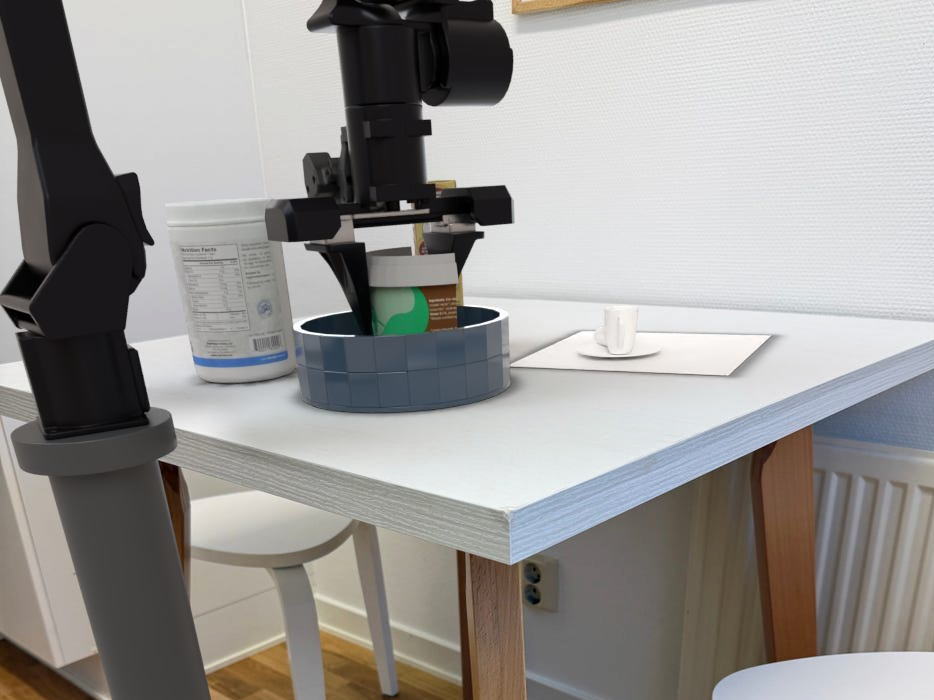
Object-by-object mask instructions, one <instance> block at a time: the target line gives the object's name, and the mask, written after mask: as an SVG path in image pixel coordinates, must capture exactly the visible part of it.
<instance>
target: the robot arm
mask: <svg viewBox="0 0 934 700" xmlns="http://www.w3.org/2000/svg"><path fill="white" fill-rule="evenodd" d="M494 17H495V16H494V2H493V1H492V0H470V1H467V0H322V1H321V3H320V4H319V6H318V7H317V9H316V10H315V11H314V13H313V14H312V15H311V16H310V17H309V18H308V19H307V20H306V25H305V27H306V29H307V30H308V32H309V33H313V34H334V35H336V44H337V52H338V53H337V54H338V63H339V70H340V81H341V91H342V99H343V100H342V101H343V108H344V117H345V118H344V119H345V125H344V126H340V138H339V139H340V153H339V156H338V157H337V156H336V157H331V155H330V153H329V152H327V151H322V152H321V151H319V152H306V153H305V155H304V156H303V158H302V161H301V162H302V170H303V180H304V187H305V191H306V195H307V196H304V197H290V198H275V199H274V198H273V199H272V200H270V202H269V203H268V205H267V207H266V209H265V223H266V230H267V236H268V240H269V241H279V242H282V243H302V242H303V246H304V249H305V251H308V252H316V253H318V254H319V255H320V256H321V258H322V259H323V260H324V261H325V263H326V264H327V265H328V267H329V268H330V270H331V272H332V273H333V275H334V277H335V278H336V280H337V282H338V284H339V286H340V288H341V290H342V292H343V293H344V296H345V299H346V301H347V303H348V305H349V308H350V311H352V312H353V314H354V317H355V319H356V321H357V323H358V326H359V328H360V330H361V332H362V334H363V335H372V310H371V299H370V289H369V279H368V268H367V258H366V252H367V249H366V242H364V241H356V237H355V229H365V228H366V229H367V228H379V227H392V226H393V227H394V226H404V225H412V224H418V223H430V229H431V232H425V233H422V237H423V240H424V243H425V246H426V249H427V252H428V255H435V254H449V253H455V263H456V265H457V273H458V279H459V276H460V274H461V271H462V272H463V269H464V267H465V265H466V263H467V260H468V258H469V257H470V256H469V255H470V254H471V251H472V249H473V247H474V244H475V243H476V241H477V240H483V239H485V231H483V230H477V224H478V226H480V227H491V226H501V225H502V226H503V225H513V224H515V200H514V198H513V196H512V194H511V192H510V191H509V189H508V187H507V186H506V184H498V185H496V184H495V185H475V186H459V187H456V188H443V189H442V191H441V194H440V197H436V185H435V183H431V184H428V181H429V178H428V177H429V176H428V164H427V163H428V162H427V150H426V137H430V136H433V128H432V119H427V118H426V119H424V110H423V109H424V108H423V103H424V104H426V105H427V106H430V107H433V108H436V107H437V108H443V107H445V108H446V107H448V108H449V107H452V108H453V107H458V108H459V107H494V106H496V105H497V104H499V103H501V101H503V99H504V98H505V96H506V94H507V93H508V92H509V89H510V85H511V82H512V78H513V74H514V50H513V48H512V47H511V45H510V39H509V37H508V35H507V32H506V30H505V28H504V26H503V25H502V24H501V23H500V22H499V21H497V20H496V19H494ZM76 58H77V57H76V55H75V50H74V45H73V41H72V36H71V32H70V29H69V23H68V19H67V16H66V11H65V7H64V3H63V0H0V83H1V87H2V91H3V94H4V98H5V101H6V105H7V109H8V112H9V116H10V120H11V124H12V127H13V131H14V136H15V140H16V149H17V150H16V151H17V160H16V161H17V166H16V167H17V169H16V170H17V171H16V172H17V174H16V203H17V213H18V222H19V223H18V224H19V232H20V233H19V234H20V243H21V251H22V255H23V256H22V257H23V259H22V260H21V262H20V264H19V265H18V266H17V268H16V269H15V271H14V272H13V274H12V275H11V276H10V278H9V280H8V281H7V283H6V285H5V286H4V287H3V289H2V290H1V291H0V307H1V308H2V310H3V312H4V313H5V314H6V315H7V317H8V319H9V320H10V322H11V323H12V325H13V327H15V328H16V329H18V330H24V331H17V332H14V335H15V338H16V342H17V345H18V349H19V353H20V356H21V357H20V358H21V360H22V363H23V368H24V371H25V374H26V378H27V381H28V384H29V388H30V391H31V396H32V399H33V402H34V406H35V410H36V414H37V415H36V416H35V420H37V423H38V426H39V428H40V430H41V432H42V435H43V437H44V439H45V440H57V439H63V438H70V437H76V436H82V435H89V434H95V433H101V432H108V431H114V430H121V429H127V428H133V427H140V426H146V425H149V424H150V422H149V417H148V416H147V415H146V414H145V413H146V412H149V410H150V409H151V408H150V407H151V404H150V399H149V395H148V390H147V386H146V385H147V384H146V381H145V377H144V372H143V368H142V362H141V359H140V354H139V350H138V349H136V348H135V347H133V345H131V344H129V343H127V338H126V334H125V330H126V328H127V320H128V313H129V312H128V311H129V305H130V296H131V295H133V294H134V293H135V292H136V291H137V289H138V287H139V286H140V284H141V282H142V280H144V279H145V277H146V273H147V267H148V265H147V253H146V251H147V250H146V248H145V246H147V247H153V246H154V245H155V240H154V238H153V236H152V234H151V233H150V232H149V230H148V228H147V225H146V222H145V219H144V216H143V209H142V193H141V192H142V191H141V185H140V180H139V175H138V174H137V173H136V172H134V171H130V172H129V171H128V172H123V173H122V172H121V173H114V172H113V170H112V169H111V167H110V165H109V163H108V161H107V160H106V157H105V156H104V154H103V153H102V151H101V148H100V147H99V145H98V143H97V141H96V140H97V139H96V138H95V135H94V131H93V129H92V124H91V123H92V122H91V119H90V115H89V110H88V105H87V101H86V97H85V93H84V88H83V84H82V80H81V75H80V71H79V66H78V63H77V59H76ZM403 201H406V205H407V204H408V205H409V204H411V203H414V207H415V209H411V208H403V209H402V208H401V202H403ZM456 285H457V284H456Z"/></svg>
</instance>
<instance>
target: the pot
mask: <svg viewBox="0 0 934 700" xmlns="http://www.w3.org/2000/svg"><path fill="white" fill-rule="evenodd" d="M509 322H510V321H509V312H508V311H506V310H503V309H502V308H499V307H492V306H486V305H473V304H464V305H457V328H454V329H446V330H439V331H430V332H419V333H407V334H388V335H374V332H373V326H372V335H363V334H362V332H361V330H360V328H359V326H358V323H357V321H356V319H355V317H354V314H353V312H352V310H345V311H339V312H333V313H327V314H323V315H317V316H312V317H309V318H305V319H303V320H300V321H297V322H296V323H293V326H292V334H293V341H294V349H295V356H296V363H297V366H296V369H297V376H298V383H299V390H300V394H301V399H302V400H303V402H304V403H306V404H308V405H310V406H313V407H315V408H319V409H323V410H328V411H337V412H346V413H361V414H363V413H364V414H366V413H367V414H386V413H406V412H407V413H408V412H409V413H411V412H419V411H429V410H438V409H446V408H451V407H457V406H458V407H459V406H462V405H463V406H464V405H468V404H472V403H477V402H480V401H483V400H487V399H490V398H493V397H496V396H497V395H499V394H502V393H504V392H505V391H507V390H508V389H509V387H510V386H511V366H510V364H511V356H510V355H511V354H510V327H509V326H510V324H509Z"/></svg>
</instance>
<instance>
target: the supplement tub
mask: <svg viewBox="0 0 934 700" xmlns="http://www.w3.org/2000/svg"><path fill="white" fill-rule="evenodd" d="M272 199H274V198H273V197H243V198H241V197H240V198H225V199H224V198H223V199H210V200H193V201H181V202H180V201H179V202H170V203H165V204H164V211H165V212H164V213H165V216H166V217H165V218H166V221H165V224H166V226H167V235H168V239H169V245H170V250H171V255H172V259H173V265H174V270H175V274H176V280H177V285H178V289H179V295H180V302H181V305H182V310H183V315H184V320H185V325H186V330H187V335H188V340H189V345H190V351H191V356H192V360H193V364H194V369H195V373H196V374H197V376H198V377H200V378H201V379H202V380H204V381H207V382H210V383H218V384H242V383H243V384H244V383H253V382H261V381H267V380H272V379H276V378H277V379H278V378H280V377H284V376H287V375H289V374H291V373H292V372H294V371H295V370H296V369H297V363H296V356H295V349H294V341H293V334H292V326H293V325H294V321H293V313H292V306H291V300H290V292H289V285H288V279H287V272H286V271H287V270H286V264H285V258H284V257H285V256H284V249H283V242H279V241H269V240H268V236H267V230H266V223H265V209H266V207H267V205H268V203H269V202H270V200H272Z"/></svg>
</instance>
